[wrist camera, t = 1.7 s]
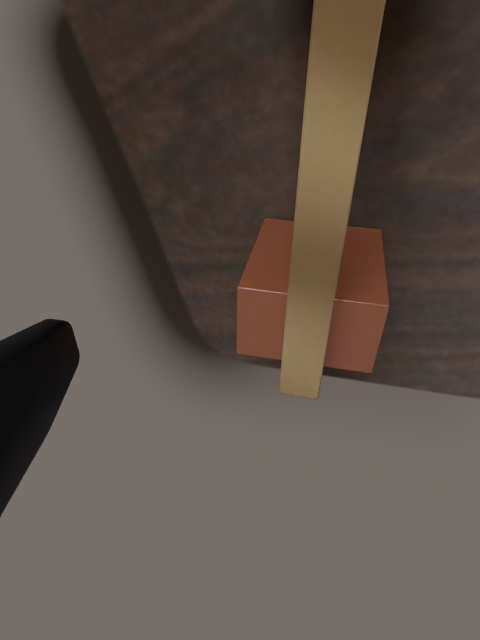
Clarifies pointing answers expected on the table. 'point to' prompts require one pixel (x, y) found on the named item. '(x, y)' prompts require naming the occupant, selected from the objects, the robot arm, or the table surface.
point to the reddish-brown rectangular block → (349, 307)
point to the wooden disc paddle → (326, 179)
